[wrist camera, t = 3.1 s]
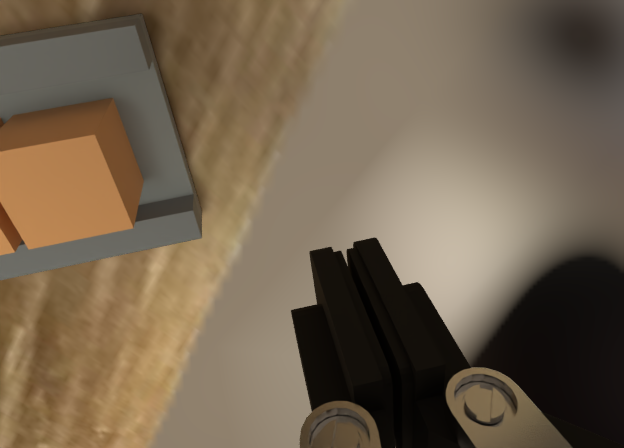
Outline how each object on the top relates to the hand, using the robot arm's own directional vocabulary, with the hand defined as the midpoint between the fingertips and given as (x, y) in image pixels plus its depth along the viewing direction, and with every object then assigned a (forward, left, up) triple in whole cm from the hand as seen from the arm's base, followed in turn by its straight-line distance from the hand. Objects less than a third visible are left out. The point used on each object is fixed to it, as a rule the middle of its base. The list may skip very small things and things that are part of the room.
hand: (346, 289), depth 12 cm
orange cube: (0, -9, -12) cm, 15 cm away
